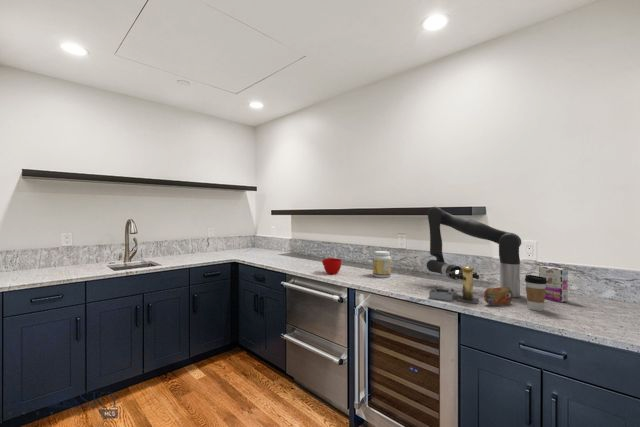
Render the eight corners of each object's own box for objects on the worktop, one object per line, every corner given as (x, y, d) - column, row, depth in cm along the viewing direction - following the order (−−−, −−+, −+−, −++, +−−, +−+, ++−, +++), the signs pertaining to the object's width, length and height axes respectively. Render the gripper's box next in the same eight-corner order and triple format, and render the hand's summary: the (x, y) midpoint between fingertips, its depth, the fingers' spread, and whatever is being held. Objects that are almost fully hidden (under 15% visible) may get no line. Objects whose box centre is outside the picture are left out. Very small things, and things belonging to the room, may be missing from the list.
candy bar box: (568, 301, 154) (568, 269, 154) (561, 302, 152) (561, 269, 152) (544, 296, 164) (545, 265, 164) (538, 297, 162) (538, 265, 162)
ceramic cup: (329, 270, 233) (329, 257, 233) (345, 273, 220) (345, 259, 220) (316, 272, 224) (316, 258, 224) (331, 276, 211) (331, 261, 211)
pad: (478, 299, 156) (478, 298, 156) (477, 304, 149) (477, 302, 149) (459, 297, 161) (459, 295, 161) (457, 301, 153) (457, 300, 153)
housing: (455, 296, 162) (455, 288, 162) (452, 301, 153) (452, 293, 153) (433, 293, 168) (433, 286, 168) (429, 298, 158) (429, 290, 158)
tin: (487, 306, 145) (487, 288, 145) (482, 304, 148) (482, 287, 148) (513, 304, 149) (513, 286, 149) (507, 302, 153) (507, 285, 152)
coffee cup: (525, 304, 148) (525, 273, 148) (547, 308, 143) (547, 276, 143) (523, 309, 142) (523, 276, 141) (546, 312, 136) (546, 279, 136)
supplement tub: (369, 275, 216) (369, 251, 216) (385, 274, 220) (385, 250, 220) (378, 278, 205) (378, 253, 205) (394, 277, 208) (394, 252, 208)
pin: (474, 298, 156) (474, 266, 156) (473, 301, 151) (473, 268, 151) (462, 297, 159) (461, 265, 159) (460, 299, 154) (460, 267, 154)
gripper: (439, 264, 168) (457, 270, 152) (463, 264, 170) (483, 269, 154) (439, 278, 168) (457, 285, 152) (463, 277, 170) (483, 284, 154)
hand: (470, 277), depth 153 cm, fingers open, 8 cm apart
